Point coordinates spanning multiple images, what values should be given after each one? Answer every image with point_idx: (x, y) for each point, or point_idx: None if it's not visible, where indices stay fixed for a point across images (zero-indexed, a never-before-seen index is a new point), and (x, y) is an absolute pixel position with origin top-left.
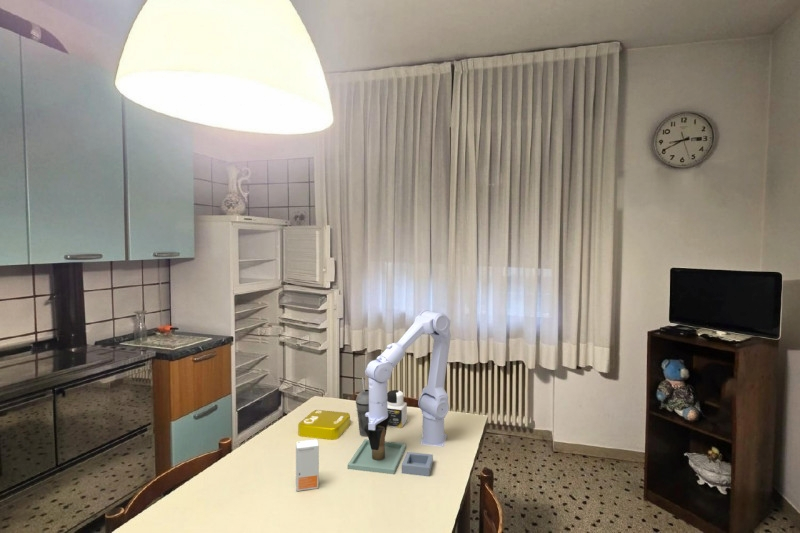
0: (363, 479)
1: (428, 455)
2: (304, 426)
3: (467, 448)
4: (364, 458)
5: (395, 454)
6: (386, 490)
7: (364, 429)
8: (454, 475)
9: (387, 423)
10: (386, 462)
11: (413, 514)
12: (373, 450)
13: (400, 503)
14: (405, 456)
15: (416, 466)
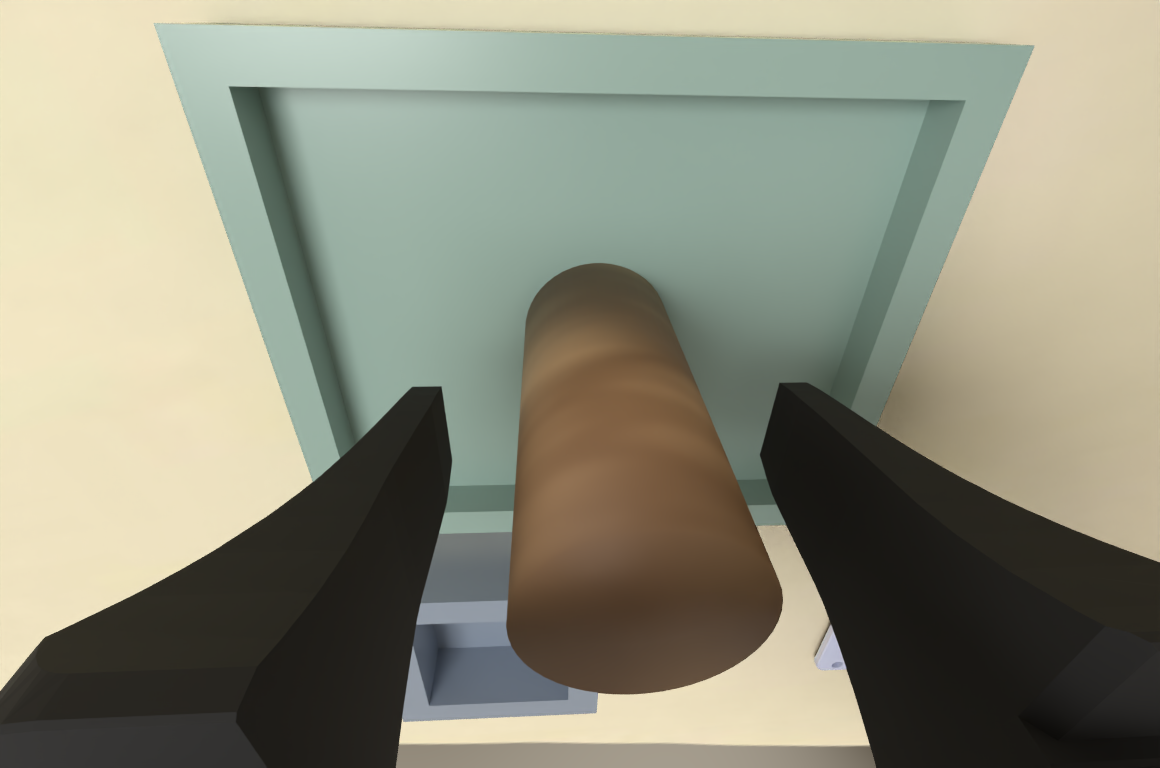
0: (155, 285)
1: (578, 698)
2: None
3: (803, 728)
4: (533, 183)
5: None
6: (130, 492)
7: (22, 669)
8: (497, 719)
9: (857, 702)
10: (511, 420)
11: (14, 647)
12: (535, 345)
13: (56, 586)
14: None
15: None
